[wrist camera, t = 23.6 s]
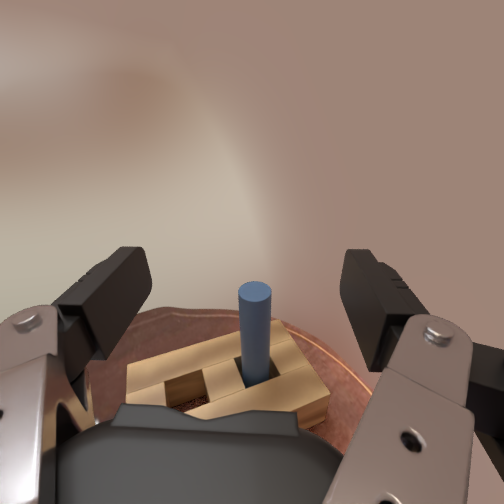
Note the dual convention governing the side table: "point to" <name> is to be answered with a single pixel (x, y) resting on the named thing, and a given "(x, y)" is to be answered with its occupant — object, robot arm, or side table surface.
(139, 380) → the rack
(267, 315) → the peg
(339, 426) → the side table surface
